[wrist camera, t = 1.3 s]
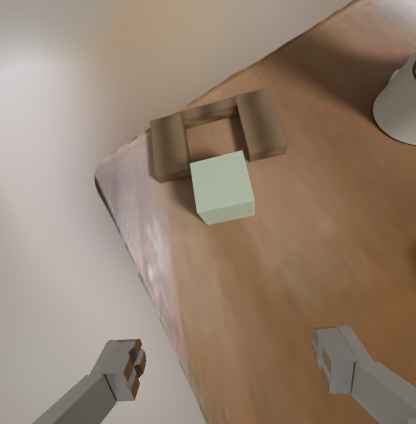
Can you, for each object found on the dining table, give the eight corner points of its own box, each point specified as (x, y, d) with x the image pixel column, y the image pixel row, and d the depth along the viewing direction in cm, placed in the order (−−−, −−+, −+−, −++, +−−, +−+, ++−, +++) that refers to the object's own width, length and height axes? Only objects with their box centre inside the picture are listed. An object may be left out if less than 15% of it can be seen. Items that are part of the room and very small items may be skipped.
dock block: (268, 98, 47) (269, 87, 44) (285, 153, 42) (287, 144, 39) (156, 129, 50) (150, 121, 48) (160, 183, 46) (154, 177, 43)
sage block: (244, 172, 43) (242, 150, 35) (254, 215, 40) (254, 200, 32) (200, 183, 44) (189, 163, 37) (207, 225, 41) (196, 212, 34)
